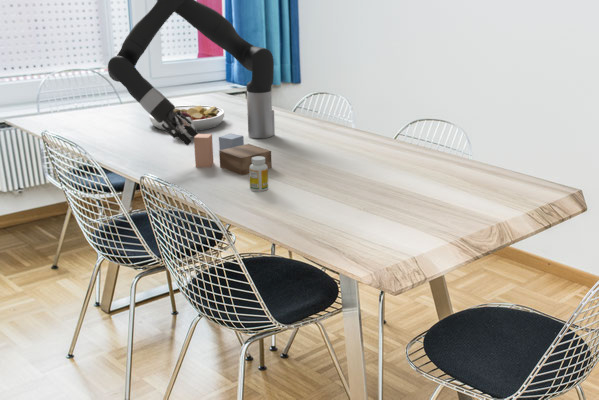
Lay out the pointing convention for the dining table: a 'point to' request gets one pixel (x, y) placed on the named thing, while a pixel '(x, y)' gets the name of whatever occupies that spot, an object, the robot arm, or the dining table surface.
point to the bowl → (197, 116)
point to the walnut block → (242, 158)
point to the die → (186, 131)
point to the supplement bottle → (258, 174)
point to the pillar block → (203, 150)
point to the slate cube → (230, 141)
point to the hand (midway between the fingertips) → (193, 140)
